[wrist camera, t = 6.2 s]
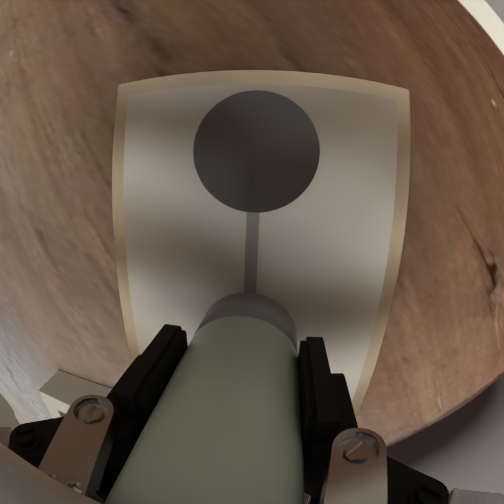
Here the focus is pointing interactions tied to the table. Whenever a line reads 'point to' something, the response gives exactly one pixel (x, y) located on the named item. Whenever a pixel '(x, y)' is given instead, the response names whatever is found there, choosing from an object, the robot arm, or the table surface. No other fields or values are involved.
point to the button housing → (68, 392)
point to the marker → (225, 416)
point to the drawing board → (262, 204)
